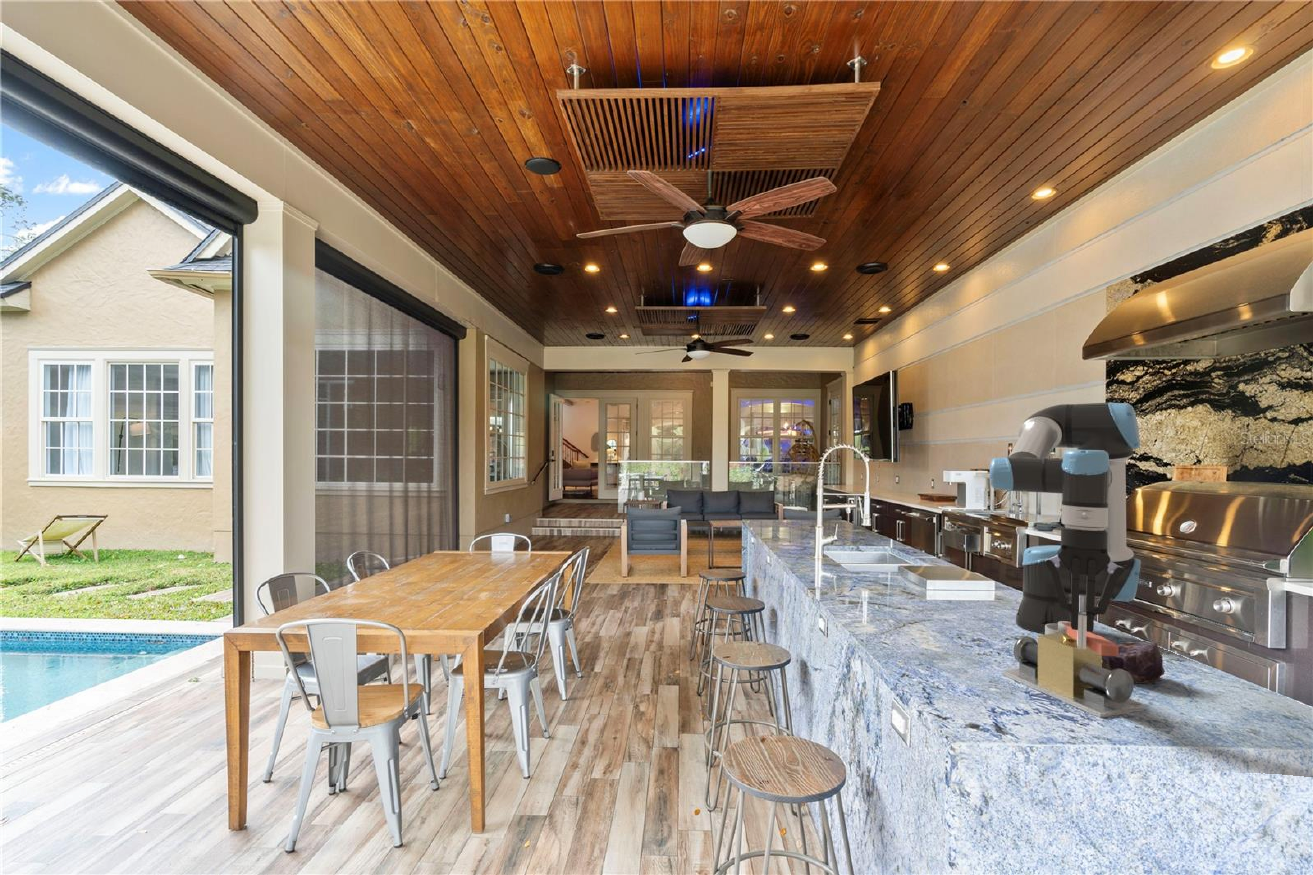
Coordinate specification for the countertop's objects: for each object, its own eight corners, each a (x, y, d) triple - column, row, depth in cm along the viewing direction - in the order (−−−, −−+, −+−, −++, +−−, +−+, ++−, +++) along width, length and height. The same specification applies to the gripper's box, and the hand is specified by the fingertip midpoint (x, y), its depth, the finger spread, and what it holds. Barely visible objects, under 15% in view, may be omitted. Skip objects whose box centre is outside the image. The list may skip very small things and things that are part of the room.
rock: (1099, 675, 140) (1121, 691, 130) (1092, 638, 141) (1113, 651, 131) (1157, 672, 137) (1184, 688, 127) (1149, 634, 138) (1176, 647, 128)
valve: (1043, 669, 140) (1043, 617, 140) (1144, 709, 119) (1144, 648, 119) (1003, 675, 136) (1003, 621, 137) (1100, 717, 115) (1100, 654, 116)
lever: (1054, 629, 130) (1054, 619, 130) (1074, 630, 130) (1074, 620, 130) (1098, 655, 114) (1098, 644, 114) (1121, 656, 114) (1121, 645, 114)
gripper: (1045, 526, 119) (1042, 645, 119) (1127, 533, 112) (1124, 659, 112) (1045, 522, 125) (1042, 635, 125) (1122, 528, 118) (1120, 648, 118)
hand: (1081, 646), depth 118 cm, fingers closed
